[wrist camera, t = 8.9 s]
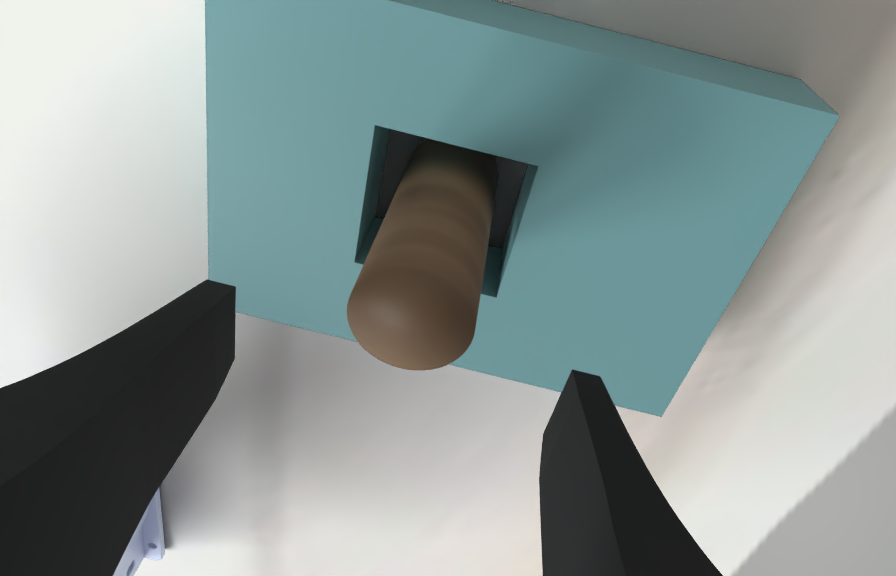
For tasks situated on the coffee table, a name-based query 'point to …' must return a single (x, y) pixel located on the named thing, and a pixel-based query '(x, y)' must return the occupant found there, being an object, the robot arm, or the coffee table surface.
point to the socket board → (514, 137)
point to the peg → (427, 260)
